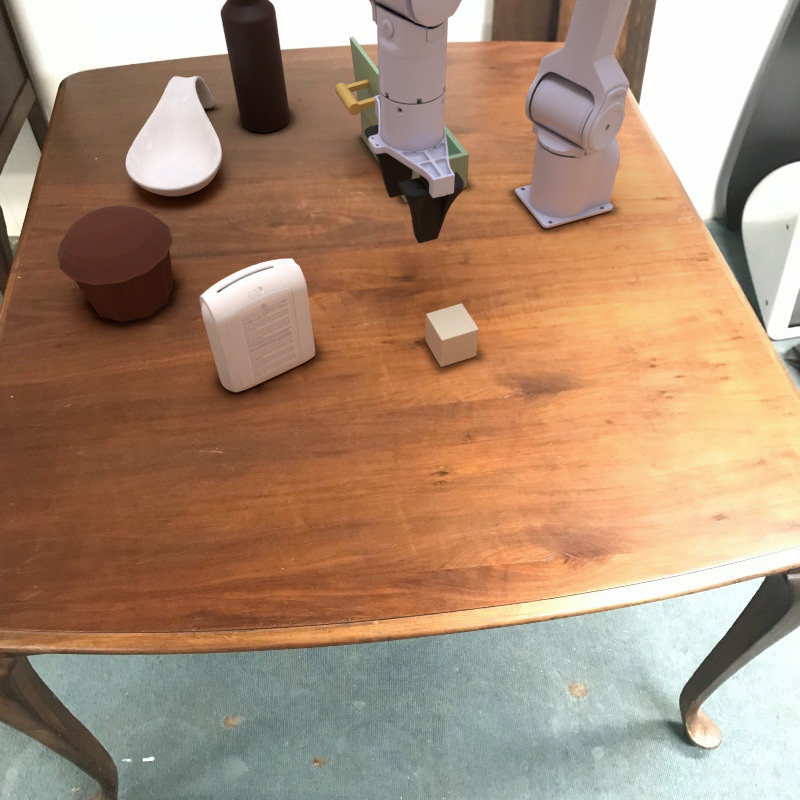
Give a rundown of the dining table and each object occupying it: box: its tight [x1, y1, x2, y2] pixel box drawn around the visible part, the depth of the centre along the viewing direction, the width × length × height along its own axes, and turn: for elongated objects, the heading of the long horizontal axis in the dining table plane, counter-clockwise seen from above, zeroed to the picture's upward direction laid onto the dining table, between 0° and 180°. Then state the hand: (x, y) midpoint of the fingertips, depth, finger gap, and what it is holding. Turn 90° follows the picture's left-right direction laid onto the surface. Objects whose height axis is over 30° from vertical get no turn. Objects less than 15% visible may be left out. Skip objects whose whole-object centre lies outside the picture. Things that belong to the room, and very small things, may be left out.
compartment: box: [360, 109, 470, 204], centre depth 99 cm, size 8×15×5 cm, turn 22°
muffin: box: [57, 204, 174, 323], centre depth 82 cm, size 12×11×10 cm
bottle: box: [219, 0, 291, 134], centre depth 99 cm, size 7×7×20 cm
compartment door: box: [334, 35, 380, 125], centre depth 92 cm, size 9×15×5 cm
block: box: [425, 302, 480, 368], centre depth 78 cm, size 4×4×4 cm
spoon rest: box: [125, 75, 223, 197], centre depth 99 cm, size 24×12×7 cm, turn 3°
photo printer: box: [199, 258, 316, 393], centre depth 74 cm, size 10×4×12 cm, turn 123°
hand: (412, 215), depth 77 cm, fingers open, 7 cm apart
